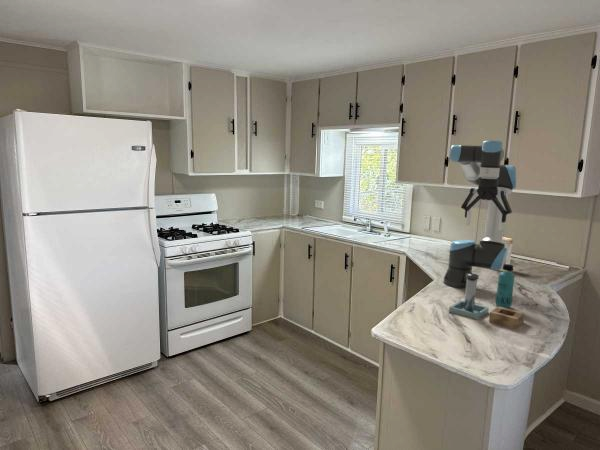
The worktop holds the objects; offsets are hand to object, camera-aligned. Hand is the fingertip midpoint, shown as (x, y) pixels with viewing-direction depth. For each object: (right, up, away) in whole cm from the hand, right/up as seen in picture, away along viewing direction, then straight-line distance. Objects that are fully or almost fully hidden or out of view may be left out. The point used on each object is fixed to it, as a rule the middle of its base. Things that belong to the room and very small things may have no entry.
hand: (483, 227), depth 183 cm
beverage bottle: (+11, -36, +6) cm, 38 cm away
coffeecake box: (+40, -26, +77) cm, 90 cm away
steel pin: (-8, -36, -3) cm, 37 cm away
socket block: (+3, -39, -12) cm, 41 cm away
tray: (-8, -37, -2) cm, 37 cm away
